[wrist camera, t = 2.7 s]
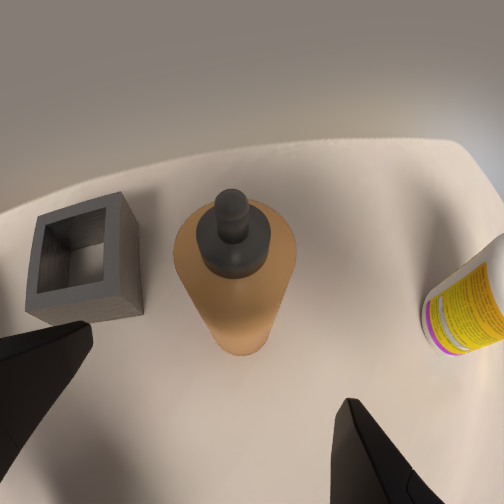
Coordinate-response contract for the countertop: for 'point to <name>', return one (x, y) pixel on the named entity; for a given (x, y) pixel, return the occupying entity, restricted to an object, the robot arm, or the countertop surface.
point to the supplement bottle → (468, 304)
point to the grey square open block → (78, 236)
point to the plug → (236, 268)
